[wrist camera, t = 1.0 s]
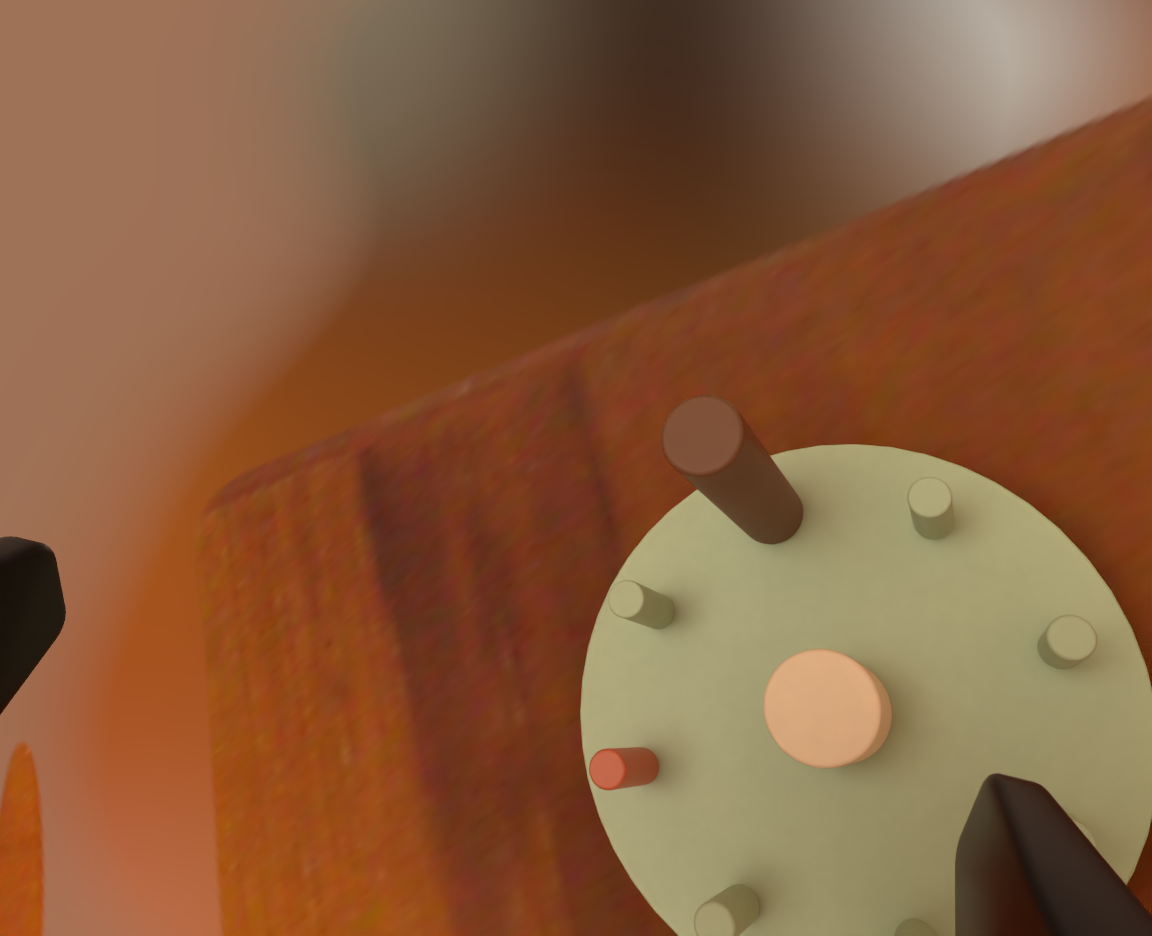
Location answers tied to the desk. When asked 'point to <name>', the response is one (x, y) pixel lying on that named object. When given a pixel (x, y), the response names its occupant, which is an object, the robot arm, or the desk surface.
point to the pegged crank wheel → (848, 686)
